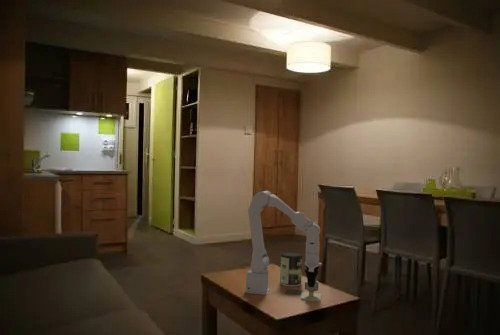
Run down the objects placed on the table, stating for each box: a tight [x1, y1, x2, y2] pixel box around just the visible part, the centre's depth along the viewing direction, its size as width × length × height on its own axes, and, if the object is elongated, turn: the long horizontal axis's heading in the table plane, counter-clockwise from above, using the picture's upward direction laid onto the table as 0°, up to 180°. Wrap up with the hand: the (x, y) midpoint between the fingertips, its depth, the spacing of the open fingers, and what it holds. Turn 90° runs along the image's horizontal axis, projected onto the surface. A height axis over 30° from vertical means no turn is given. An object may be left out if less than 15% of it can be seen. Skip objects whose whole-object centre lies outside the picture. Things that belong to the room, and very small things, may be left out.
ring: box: [304, 279, 320, 292], centre depth 161 cm, size 6×6×3 cm
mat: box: [283, 288, 303, 296], centre depth 167 cm, size 7×7×1 cm
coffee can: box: [279, 251, 303, 287], centre depth 180 cm, size 10×10×14 cm
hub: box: [300, 291, 322, 303], centre depth 161 cm, size 8×8×4 cm
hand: (311, 284), depth 161 cm, fingers closed on ring, 6 cm apart
